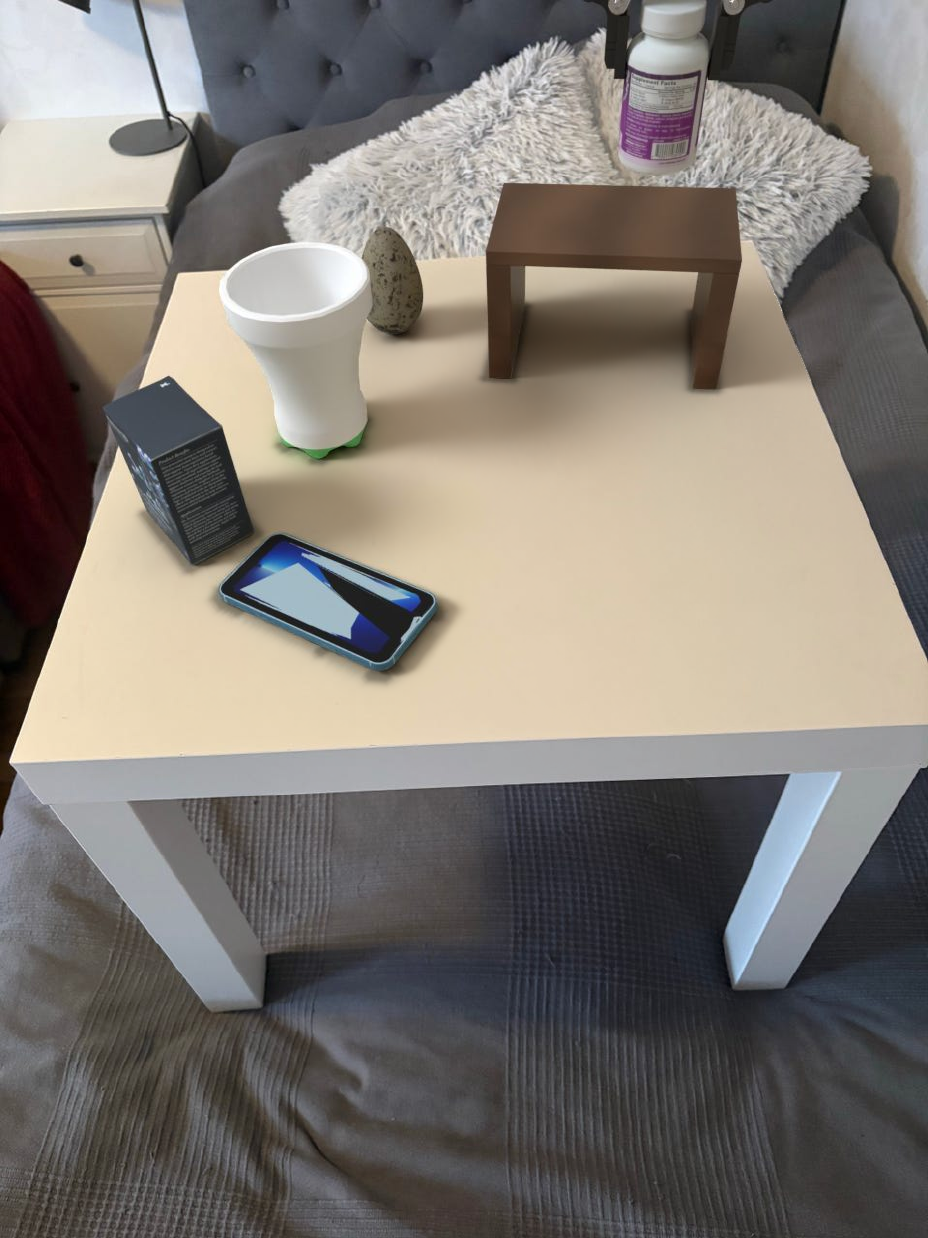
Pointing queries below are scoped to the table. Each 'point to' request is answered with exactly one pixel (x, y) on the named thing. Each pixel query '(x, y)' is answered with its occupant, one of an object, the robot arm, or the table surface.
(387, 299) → the decorative egg
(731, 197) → the desk shelf
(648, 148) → the pill bottle
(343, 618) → the smartphone
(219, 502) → the box
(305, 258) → the cup
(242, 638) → the table surface
